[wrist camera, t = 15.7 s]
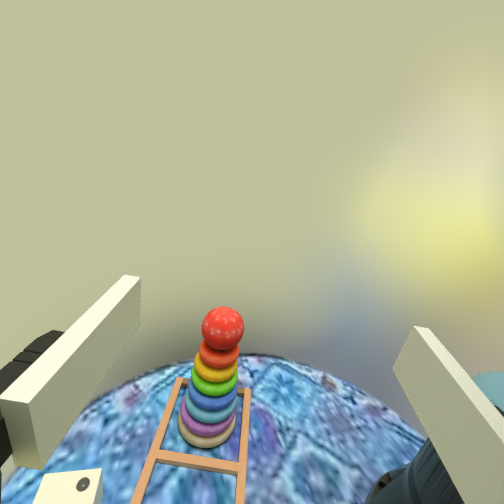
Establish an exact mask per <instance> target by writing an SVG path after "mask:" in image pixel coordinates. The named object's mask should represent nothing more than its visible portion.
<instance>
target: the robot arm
mask: <svg viewBox="0 0 504 504" xmlns="http://www.w3.org/2000/svg"><path fill="white" fill-rule="evenodd" d="M140 297H141V277H135V276H130V275H124V276H123V277H122V278H121V279H119V281H118V282H116V283H115V284H114V285H113V286H112V287H111V288H110V289H109V290H108V291H107V292H106V293H105V294H104V295H103V296H102V297H101V298H100V299H99V300H98V301H97V302H96V303H95V304H94V305H93V306H92V307H91V308H90V309H89V310H88V311H87V312H85V313H84V314H83V316H81V317H80V318H79V319H78V320H77V321H76V322H75V323H74V324H73V325H72V326H71V327H70V328H69V329H68V330H67V331H66V332H61V331H56V330H52V331H50V332H48V333H46V334H44V335H42V336H40V337H38V338H37V339H35V340H34V341H33V342H32V343H31V344H30V345H28V346H27V347H26V348H25V349H24V351H23V352H20V353H19V354H18V355H17V356H16V357H15V358H14V359H13V361H12V362H9V363H8V364H7V365H6V366H4V367H3V368H2V369H1V370H0V467H1V466H2V465H3V464H4V462H5V461H6V460H7V459H8V458H9V456H10V455H11V454H12V456H13V460H14V464H15V466H19V467H25V468H31V469H38V470H42V469H43V468H44V466H45V465H46V463H47V462H48V460H49V459H50V457H51V456H52V454H53V453H54V451H55V450H56V449H57V447H58V446H59V444H60V443H61V441H62V440H63V438H64V437H65V435H66V434H67V432H68V431H69V429H70V428H71V426H72V425H73V423H74V422H75V420H76V419H77V417H78V416H79V414H80V413H81V411H82V410H83V408H84V407H85V406H86V404H87V403H88V401H89V400H90V398H91V396H92V395H93V394H94V392H95V391H96V389H97V388H98V386H99V385H100V383H101V382H102V380H103V379H104V377H105V376H106V374H107V373H108V371H109V370H110V368H111V367H112V365H113V364H114V362H115V361H116V360H117V358H118V356H119V355H120V354H121V352H122V351H123V349H124V348H125V346H126V345H127V343H128V342H129V340H130V339H131V337H132V336H133V334H134V333H135V331H136V330H137V328H138V327H139V325H140ZM392 369H393V371H394V373H395V375H396V377H397V379H398V380H399V382H400V384H401V386H402V388H403V389H404V392H405V393H406V395H407V397H408V399H409V401H410V403H411V405H412V406H413V408H414V410H415V412H416V414H417V416H418V417H419V419H420V421H421V423H422V425H423V427H424V429H425V431H426V432H427V434H428V436H429V437H428V438H427V440H426V441H425V443H424V444H423V446H422V447H421V449H420V450H419V452H418V453H417V455H416V456H415V458H414V459H413V461H412V462H411V463H408V464H406V465H404V466H401V467H399V468H397V469H394V470H392V471H389V472H387V473H386V474H384V475H383V476H381V477H380V478H379V479H378V480H377V481H376V483H375V484H374V486H373V488H372V489H371V491H370V493H369V494H368V496H367V499H366V501H365V504H504V372H485V373H481V374H478V375H475V376H473V377H472V378H470V377H469V376H468V375H467V373H466V372H465V371H464V370H463V368H462V367H461V366H460V365H459V364H458V363H457V361H456V360H455V359H454V358H453V357H452V355H451V354H450V353H449V352H448V351H447V349H446V348H445V347H444V346H443V345H442V343H441V342H440V341H439V340H438V339H437V338H436V336H435V335H434V334H433V333H432V332H431V330H430V329H428V328H423V327H417V326H413V328H412V330H411V332H410V334H409V336H408V338H407V340H406V342H405V344H404V346H403V348H402V350H401V352H400V354H399V356H398V358H397V360H396V362H395V364H394V366H393V368H392ZM1 476H2V473H1V470H0V504H1Z"/></svg>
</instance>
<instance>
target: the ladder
mask: <svg viewBox="0 0 504 504" xmlns="http://www.w3.org/2000/svg"><path fill="white" fill-rule="evenodd" d="M188 383H189V379H187V378H181V377H177V378H176V381H175V384H174V387H173V389H172V392H171V395H170V397H169V400H168V403H167V406H166V408H165V411H164V414H163V416H162V419H161V422H160V424H159V427H158V430H157V433H156V435H155V438H154V441H153V443H152V446H151V449H150V451H149V454H148V457H147V460H146V462H145V465H144V468H143V470H142V473H141V476H140V479H139V481H138V484H137V487H136V489H135V492H134V495H133V497H132V500H131V503H130V504H142V501H143V498H144V495H145V492H146V489H147V486H148V483H149V480H150V477H151V474H152V471H153V468H154V465H155V462H158V463H164V464H170V465H176V466H182V467H189V468H195V469H201V470H207V471H213V472H219V473H225V474H232V475H237V481H236V492H235V504H244V501H245V484H246V466H247V449H248V432H249V415H250V398H251V389H246V388H240V387H238V389H237V396H239V397H244V398H243V410H242V422H241V434H240V445H239V457H238V462H233V461H227V460H221V459H215V458H209V457H202V456H196V455H190V454H184V453H178V452H172V451H166V450H160V448H161V445H162V442H163V439H164V436H165V433H166V430H167V427H168V424H169V421H170V418H171V415H172V412H173V409H174V406H175V403H176V400H177V397H178V394H179V392H180V389H181V387H186V388H188Z"/></svg>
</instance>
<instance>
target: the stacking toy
mask: <svg viewBox="0 0 504 504" xmlns="http://www.w3.org/2000/svg"><path fill="white" fill-rule="evenodd" d="M243 332H244V324H243V320H242V318H241V316H240V315H239V313H238V312H237V311H235V310H234V309H232V308H229V307H218V308H215V309H213V310H211V311H210V312H209V313H208V314H207V315H206V316H205V318H204V320H203V323H202V335H203V338H204V339H203V340H202V342H201V344H200V346H199V352H198V354H197V355H196V357H195V360H194V366H193V369H192V373H191V377H190V379H189V383H188V388H187V390H186V394H185V396H184V398H183V400H182V403H181V408H180V412H179V416H178V426H179V430H180V432H181V434H182V436H183V437H184V439H185V440H186V441H188V442H189V443H190V444H192V445H194V446H197V447H201V448H211V447H215V446H217V445H219V444H221V443H223V442H224V441H225V440H226V439H227V438H228V437H229V436H230V435H231V433H232V431H233V429H234V426H235V421H236V414H235V406H236V403H237V389H238V386H237V379H238V371H237V366H238V361H237V358H238V355H239V347H238V343H239V341H240V340H241V338H242V335H243Z"/></svg>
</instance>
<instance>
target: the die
mask: <svg viewBox="0 0 504 504" xmlns="http://www.w3.org/2000/svg"><path fill="white" fill-rule="evenodd" d="M102 500H103V478H102V468H99V469H89V470H80V471H70V472H60V473H51V474H45V475H44V477H43V480H42V482H41V484H40V487H39V489H38V492H37V494H36V497H35V499H34V501H33V504H102Z"/></svg>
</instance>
